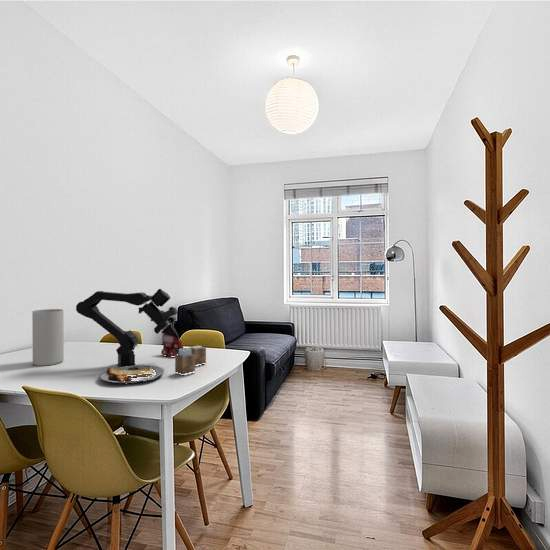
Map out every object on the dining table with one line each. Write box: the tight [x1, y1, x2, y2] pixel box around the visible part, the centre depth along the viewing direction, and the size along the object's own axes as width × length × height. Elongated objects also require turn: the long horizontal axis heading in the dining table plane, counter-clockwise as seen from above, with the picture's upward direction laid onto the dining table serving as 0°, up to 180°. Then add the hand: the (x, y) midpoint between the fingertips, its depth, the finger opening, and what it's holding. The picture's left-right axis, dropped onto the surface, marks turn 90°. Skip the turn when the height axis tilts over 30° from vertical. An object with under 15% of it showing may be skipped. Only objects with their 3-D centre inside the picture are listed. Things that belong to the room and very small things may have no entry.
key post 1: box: [188, 346, 207, 365], centre depth 170 cm, size 6×6×8 cm
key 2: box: [179, 347, 191, 357], centre depth 155 cm, size 4×4×8 cm
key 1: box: [190, 345, 204, 349], centre depth 170 cm, size 4×4×8 cm
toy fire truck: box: [160, 334, 184, 357], centre depth 187 cm, size 7×12×10 cm, turn 65°
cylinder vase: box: [31, 308, 65, 367], centre depth 171 cm, size 12×12×25 cm
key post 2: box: [174, 354, 196, 374], centre depth 155 cm, size 6×6×8 cm
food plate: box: [98, 364, 165, 384], centre depth 149 cm, size 25×23×4 cm
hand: (178, 337), depth 169 cm, fingers closed
